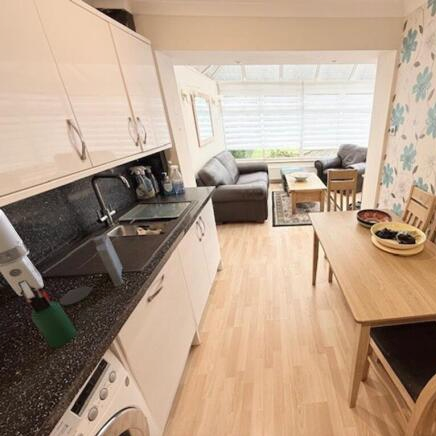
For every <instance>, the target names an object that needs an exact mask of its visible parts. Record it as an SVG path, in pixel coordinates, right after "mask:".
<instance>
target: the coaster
mask: <svg viewBox="0 0 436 436" xmlns="http://www.w3.org/2000/svg"><path fill="white" fill-rule="evenodd" d="M92 292H93V288H92V287H91V286H80V287H77V288H75V289H73V290H70V291H69V292H67V293H65V294H64V295H63V296H62V297H61V298H60V299H59V304H60V306H61V307H69V306H72V305H75V304H78V303H80V302H82V301H84V300H86V299H87V298H88V297H89V296H90V295H91V294H93V293H92Z"/></svg>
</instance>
